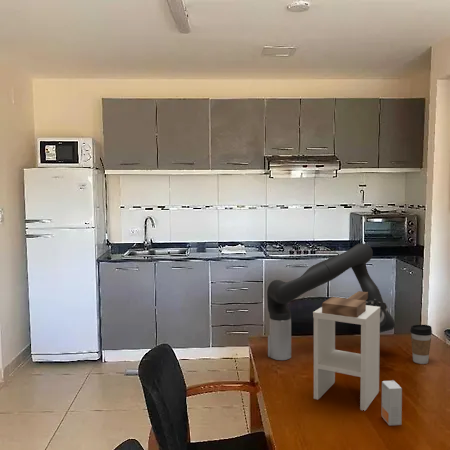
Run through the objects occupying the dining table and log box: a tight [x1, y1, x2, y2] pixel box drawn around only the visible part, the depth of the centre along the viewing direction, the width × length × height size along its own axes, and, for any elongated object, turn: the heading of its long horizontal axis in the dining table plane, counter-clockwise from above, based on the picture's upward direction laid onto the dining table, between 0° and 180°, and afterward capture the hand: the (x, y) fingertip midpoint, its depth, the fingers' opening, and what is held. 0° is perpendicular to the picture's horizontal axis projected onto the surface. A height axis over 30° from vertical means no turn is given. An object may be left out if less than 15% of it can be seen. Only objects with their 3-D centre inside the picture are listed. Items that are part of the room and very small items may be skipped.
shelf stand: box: [312, 305, 381, 412], centre depth 172 cm, size 18×18×31 cm
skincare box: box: [381, 380, 403, 426], centre depth 154 cm, size 6×4×12 cm
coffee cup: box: [409, 324, 433, 365], centre depth 203 cm, size 8×8×15 cm
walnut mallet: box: [321, 290, 368, 318], centre depth 175 cm, size 12×28×4 cm, turn 148°
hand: (363, 300), depth 186 cm, fingers open, 8 cm apart
